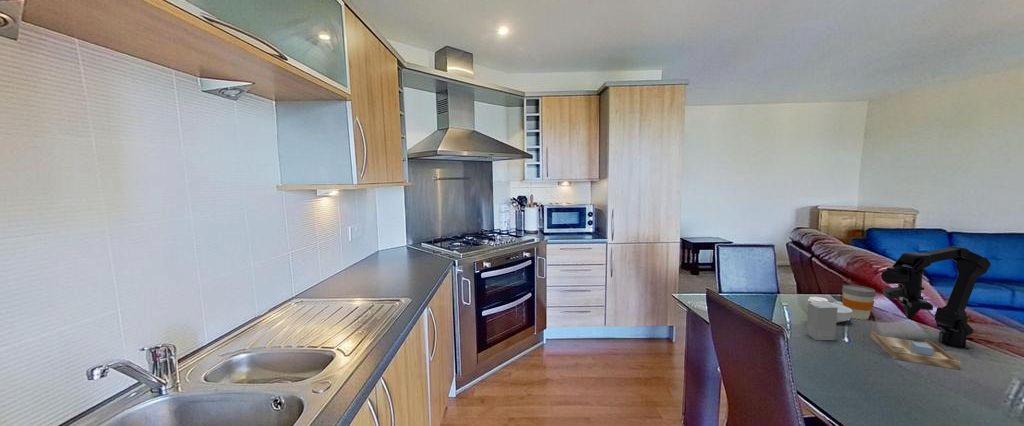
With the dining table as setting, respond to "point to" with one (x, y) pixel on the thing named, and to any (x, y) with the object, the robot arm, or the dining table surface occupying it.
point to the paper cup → (817, 299)
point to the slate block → (921, 349)
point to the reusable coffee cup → (858, 300)
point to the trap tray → (904, 345)
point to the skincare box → (821, 321)
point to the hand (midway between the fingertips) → (909, 318)
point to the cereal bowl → (843, 312)
